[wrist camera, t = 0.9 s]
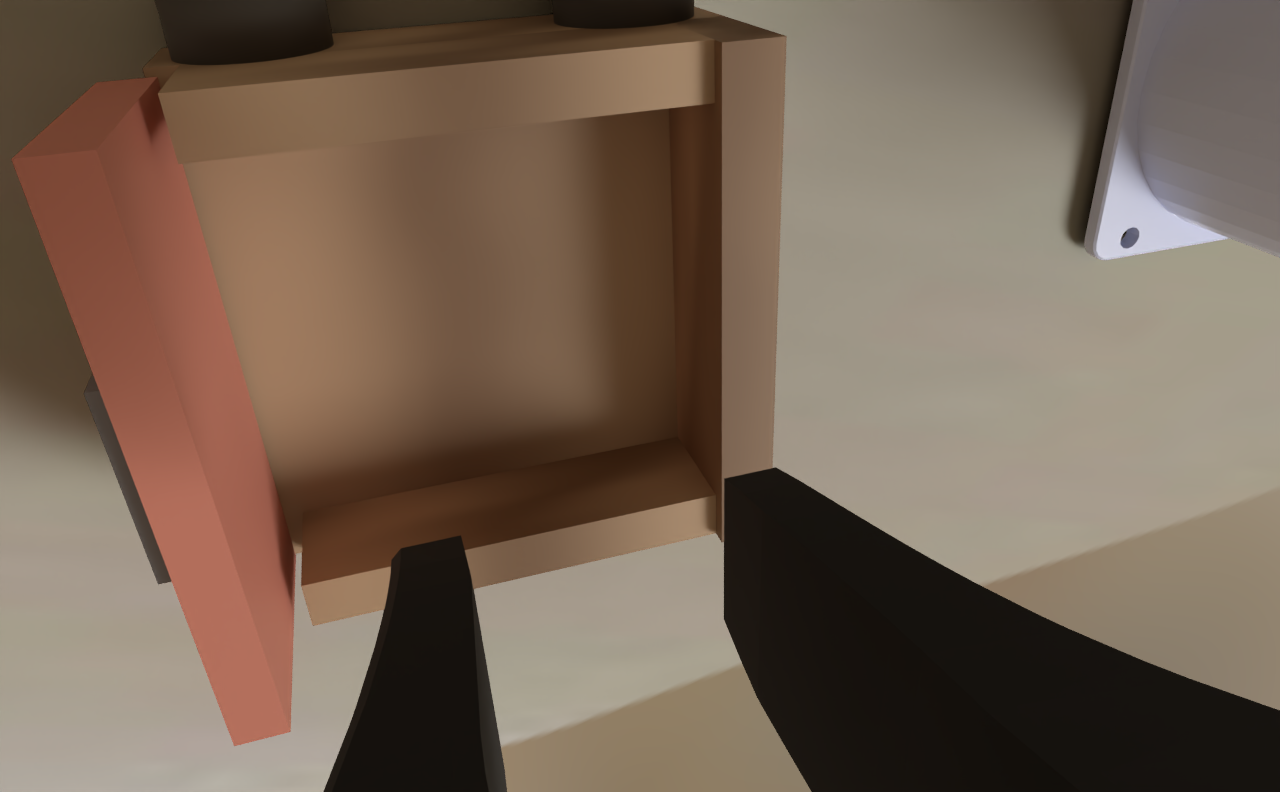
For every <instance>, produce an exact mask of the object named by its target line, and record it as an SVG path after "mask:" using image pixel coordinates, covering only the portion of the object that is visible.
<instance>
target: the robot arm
mask: <svg viewBox="0 0 1280 792" xmlns="http://www.w3.org/2000/svg"><path fill="white" fill-rule="evenodd" d="M1126 230H1127V233H1126V235H1125V237H1124V238H1123V239H1122V240H1121V237H1122V235H1123V233H1124V232H1125V231H1126ZM1224 239H1233V240H1235V241H1238V242H1241V243H1243V244H1246V245H1248V246H1251V247H1253V248H1256V249H1259V250H1261V251H1264V252H1266V253H1269V254H1272V255H1274V256H1277V257H1279V258H1280V0H1133V4H1132V9H1131V13H1130V18H1129V23H1128V28H1127V33H1126V38H1125V43H1124V48H1123V53H1122V58H1121V63H1120V68H1119V73H1118V77H1117V82H1116V87H1115V92H1114V97H1113V102H1112V107H1111V112H1110V117H1109V122H1108V127H1107V132H1106V137H1105V141H1104V146H1103V151H1102V156H1101V161H1100V166H1099V171H1098V176H1097V181H1096V186H1095V191H1094V196H1093V201H1092V205H1091V210H1090V215H1089V220H1088V225H1087V230H1086V235H1085V244H1084V247H1085V249H1086V251H1087V253H1089V254H1090V255H1092V256H1094V257H1096V258H1098V259H1100V260H1109V259H1115V258H1121V257H1127V256H1132V255H1138V254H1144V253H1149V252H1155V251H1161V250H1167V249H1172V248H1178V247H1184V246H1190V245H1195V244H1201V243H1207V242H1212V241H1218V240H1224ZM724 620H725V623H726V625H727V628H728V630H729V632H730V635H731V637H732V640H733V642H734V645H735V647H736V649H737V652H738V654H739V657H740V659H741V661H742V664H743V666H744V668H745V670H746V673H747V675H748V677H749V680H750V681H751V684H752V687H753V689H754V691H755V693H756V696H757V698H758V699H759V701H760V703H761V705H762V707H763V709H764V710H765V712H766V714H767V716H768V717H769V719H770V721H771V723H772V724H773V726H774V728H775V729H776V731H777V733H778V735H779V736H780V738H781V740H782V742H783V743H784V745H785V747H786V749H787V750H788V752H789V754H790V755H791V757H792V759H793V761H794V762H795V764H796V765H797V767H798V769H799V771H800V773H801V774H802V776H803V778H804V779H805V781H806V783H807V784H808V786H809V788H810V790H811V791H812V792H1280V710H1277V709H1273V708H1271V707H1268V706H1265V705H1262V704H1260V703H1256V702H1254V701H1251V700H1248V699H1245V698H1242V697H1240V696H1237V695H1234V694H1231V693H1228V692H1226V691H1223V690H1220V689H1217V688H1214V687H1211V686H1209V685H1206V684H1203V683H1200V682H1197V681H1194V680H1192V679H1189V678H1186V677H1184V676H1181V675H1179V674H1176V673H1173V672H1171V671H1168V670H1166V669H1163V668H1160V667H1158V666H1155V665H1153V664H1150V663H1147V662H1145V661H1142V660H1140V659H1138V658H1136V657H1133V656H1131V655H1128V654H1126V653H1124V652H1121V651H1119V650H1117V649H1114V648H1112V647H1109V646H1107V645H1105V644H1103V643H1100V642H1098V641H1096V640H1093V639H1091V638H1089V637H1086V636H1084V635H1082V634H1079V633H1077V632H1075V631H1072V630H1070V629H1068V628H1066V627H1064V626H1061V625H1059V624H1057V623H1055V622H1053V621H1050V620H1048V619H1046V618H1044V617H1042V616H1040V615H1038V614H1036V613H1034V612H1032V611H1030V610H1028V609H1026V608H1024V607H1022V606H1020V605H1018V604H1016V603H1014V602H1012V601H1010V600H1008V599H1006V598H1004V597H1002V596H1000V595H998V594H996V593H994V592H992V591H990V590H988V589H986V588H984V587H982V586H980V585H978V584H976V583H974V582H972V581H971V580H969V579H967V578H965V577H963V576H961V575H960V574H958V573H956V572H954V571H952V570H950V569H948V568H947V567H945V566H943V565H941V564H939V563H938V562H936V561H934V560H932V559H930V558H929V557H927V556H925V555H923V554H922V553H920V552H918V551H916V550H915V549H913V548H911V547H909V546H908V545H906V544H904V543H902V542H901V541H899V540H897V539H895V538H894V537H892V536H890V535H889V534H887V533H885V532H884V531H882V530H880V529H879V528H877V527H875V526H873V525H872V524H870V523H869V522H867V521H865V520H864V519H862V518H860V517H859V516H857V515H855V514H854V513H852V512H850V511H849V510H847V509H845V508H844V507H842V506H840V505H839V504H837V503H835V502H834V501H832V500H830V499H829V498H827V497H825V496H824V495H822V494H821V493H819V492H817V491H816V490H814V489H812V488H811V487H809V486H807V485H806V484H804V483H802V482H801V481H799V480H797V479H795V478H794V477H792V476H790V475H788V474H787V473H785V472H783V471H781V470H779V469H778V468H776V467H775V468H771V469H766V470H761V471H757V472H752V473H748V474H743V475H738V476H734V477H729V478H724ZM324 792H507V788H506V779H505V770H504V764H503V758H502V752H501V746H500V740H499V734H498V729H497V723H496V717H495V711H494V705H493V700H492V694H491V688H490V682H489V676H488V671H487V665H486V659H485V653H484V647H483V642H482V636H481V630H480V624H479V618H478V613H477V607H476V601H475V595H474V589H473V584H472V578H471V573H470V569H469V565H468V561H467V557H466V553H465V549H464V545H463V541H462V538H461V535H460V536H455V537H451V538H446V539H442V540H437V541H432V542H428V543H423V544H418V545H414V546H409V547H405V548H401V549H400V550H399V551H398V552H397V554H396V555H395V556H394V557H393V558H392V560H391V574H390V581H389V588H388V594H387V599H386V604H385V609H384V613H383V617H382V621H381V625H380V629H379V633H378V637H377V641H376V645H375V648H374V652H373V655H372V658H371V661H370V664H369V668H368V671H367V674H366V677H365V680H364V683H363V687H362V690H361V693H360V696H359V699H358V702H357V706H356V709H355V711H354V714H353V717H352V720H351V723H350V726H349V728H348V731H347V733H346V736H345V738H344V741H343V743H342V746H341V748H340V751H339V754H338V756H337V759H336V761H335V764H334V766H333V769H332V771H331V774H330V777H329V779H328V782H327V784H326V787H325V789H324Z"/></svg>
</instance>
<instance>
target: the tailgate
mask: <svg viewBox="0 0 1280 792" xmlns="http://www.w3.org/2000/svg"><path fill="white" fill-rule="evenodd" d="M160 90H161V88H160V84H159V81H158V77H149V78H138V79H127V80H117V81H106V82H96V83H95V84H94V85H93V86H92V87H91V88H90V89H89V90H88V91H86V92H85V93H84V94H83V95H82V96H81V97H80V98H79V99H78V100H76V101H75V102H74V103H73V104H72V105H71V106H70V107H69V108H68V109H66V110H65V111H64V112H63V113H62V114H61V115H60V116H59V117H57V118H56V119H55V120H54V121H53V122H52V123H51V124H50V125H49V126H47V127H46V128H45V129H44V130H43V131H42V132H41V133H40V134H39V135H37V136H36V137H35V138H34V139H33V140H32V141H31V142H30V143H29V144H27V145H26V146H25V147H24V148H23V149H22V150H21V151H20V152H19V153H17V154H16V155H15V156H14V157H13V158H12V159H11V160H12V162H13V165H14V168H15V170H16V173H17V175H18V178H19V181H20V183H21V186H22V189H23V191H24V194H25V197H26V199H27V202H28V204H29V207H30V210H31V212H32V215H33V218H34V220H35V223H36V225H37V228H38V231H39V233H40V236H41V239H42V241H43V244H44V247H45V249H46V252H47V254H48V257H49V260H50V262H51V265H52V268H53V270H54V273H55V275H56V278H57V281H58V283H59V286H60V289H61V291H62V294H63V297H64V299H65V302H66V304H67V307H68V310H69V312H70V315H71V318H72V320H73V323H74V325H75V328H76V331H77V333H78V336H79V339H80V341H81V344H82V346H83V349H84V352H85V354H86V357H87V360H88V362H89V365H90V368H91V370H92V373H93V374H92V376H91V378H90V380H89V382H88V385H87V387H86V389H85V391H84V395H85V398H86V400H87V403H88V406H89V408H90V411H91V413H92V416H93V418H94V421H95V424H96V426H97V429H98V431H99V434H100V436H101V439H102V441H103V444H104V447H105V449H106V452H107V454H108V457H109V459H110V462H111V465H112V467H113V470H114V472H115V475H116V477H117V480H118V482H119V485H120V488H121V490H122V493H123V495H124V498H125V500H126V503H127V506H128V508H129V511H130V513H131V516H132V518H133V521H134V523H135V526H136V529H137V531H138V534H139V536H140V539H141V541H142V544H143V547H144V549H145V552H146V554H147V557H148V559H149V562H150V564H151V567H152V570H153V572H154V575H155V577H156V580H157V582H158V584H162V583H167V582H171V581H172V583H173V586H174V589H175V591H176V594H177V596H178V599H179V602H180V604H181V607H182V610H183V612H184V615H185V617H186V620H187V623H188V625H189V628H190V631H191V633H192V636H193V638H194V641H195V644H196V646H197V649H198V652H199V654H200V657H201V660H202V662H203V665H204V667H205V670H206V673H207V675H208V678H209V681H210V683H211V686H212V688H213V691H214V694H215V696H216V699H217V702H218V704H219V707H220V710H221V712H222V715H223V717H224V720H225V723H226V725H227V728H228V731H229V733H230V736H231V738H232V741H233V744H234V746H237V745H241V744H244V743H248V742H252V741H256V740H260V739H264V738H268V737H272V736H276V735H280V734H284V733H288V732H290V728H291V695H292V662H293V630H294V597H295V564H296V555H295V551H294V548H293V544H292V541H291V537H290V534H289V530H288V527H287V523H286V520H285V517H284V513H283V510H282V506H281V503H280V499H279V496H278V492H277V489H276V485H275V482H274V479H273V475H272V472H271V468H270V465H269V461H268V458H267V454H266V451H265V447H264V444H263V440H262V437H261V434H260V430H259V427H258V423H257V420H256V416H255V413H254V409H253V406H252V402H251V399H250V396H249V392H248V389H247V385H246V382H245V378H244V375H243V371H242V368H241V364H240V361H239V357H238V354H237V351H236V347H235V344H234V340H233V337H232V333H231V330H230V326H229V323H228V319H227V316H226V313H225V309H224V306H223V302H222V299H221V295H220V292H219V288H218V285H217V281H216V278H215V275H214V271H213V268H212V264H211V261H210V257H209V254H208V250H207V247H206V243H205V240H204V236H203V233H202V230H201V226H200V223H199V219H198V216H197V212H196V209H195V205H194V202H193V198H192V195H191V192H190V188H189V185H188V181H187V178H186V174H185V171H184V167H183V164H178V161H177V158H176V154H175V151H174V148H173V144H172V141H171V137H170V134H169V130H168V127H167V124H166V120H165V117H164V113H163V110H162V106H161V103H160V99H159V96H158V93H159V91H160Z"/></svg>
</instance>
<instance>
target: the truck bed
mask: <svg viewBox="0 0 1280 792" xmlns="http://www.w3.org/2000/svg"><path fill="white" fill-rule="evenodd" d="M155 3H156V7H157V11H158V14H159V18H160V21H161V25H162V29H163V32H164V36H165V39H166V43H167V46H168V48H161V49H160V50H159V51H158V53H157V54H156V55H155V56H154V57H153V58H152V59H151V60H150V61H149V62H148V63H147V64H146V65H145V66H144V67H143V68H142V69H143V72H144V76H145V78H149V77H158V81H159V84H160V88H161V90H160V91H159V93H158V96H159V99H160V103H161V106H162V110H163V113H164V117H165V120H166V124H167V127H168V130H169V134H170V137H171V141H172V144H173V148H174V151H175V154H176V158H177V161H178V164H183V167H184V171H185V174H186V178H187V181H188V185H189V188H190V192H191V195H192V198H193V202H194V205H195V209H196V212H197V216H198V219H199V223H200V226H201V230H202V233H203V236H204V240H205V243H206V247H207V250H208V254H209V257H210V261H211V264H212V268H213V271H214V275H215V278H216V281H217V285H218V288H219V292H220V295H221V299H222V302H223V306H224V309H225V313H226V316H227V319H228V323H229V326H230V330H231V333H232V337H233V340H234V344H235V347H236V351H237V354H238V357H239V361H240V364H241V368H242V371H243V375H244V378H245V382H246V385H247V389H248V392H249V396H250V399H251V402H252V406H253V409H254V413H255V416H256V420H257V423H258V427H259V430H260V434H261V437H262V440H263V444H264V447H265V451H266V454H267V458H268V461H269V465H270V468H271V472H272V475H273V479H274V482H275V485H276V489H277V492H278V496H279V499H280V503H281V506H282V510H283V513H284V517H285V520H286V523H287V527H288V530H289V534H290V537H291V541H292V544H293V548H294V551H295V554H296V553H301V552H302V578H301V587H302V590H303V594H304V597H305V600H306V604H307V607H308V611H309V614H310V618H311V621H312V624H313V626H314V625H318V624H323V623H327V622H331V621H336V620H340V619H345V618H349V617H353V616H358V615H362V614H366V613H371V612H375V611H379V610H384V609H385V604H386V599H387V594H388V588H389V581H390V574H391V560H392V558H393V557H394V556H395V555H396V554H397V552H398V551H399V550H400V549H401V548H405V547H409V546H414V545H418V544H423V543H428V542H432V541H437V540H442V539H446V538H451V537H455V536H460V535H461V538H462V541H463V545H464V549H465V553H466V557H467V561H468V565H469V569H470V573H471V578H472V584H473V589H475V588H479V587H484V586H488V585H492V584H497V583H501V582H505V581H510V580H514V579H519V578H523V577H527V576H532V575H536V574H540V573H545V572H549V571H553V570H558V569H562V568H566V567H571V566H575V565H579V564H584V563H588V562H592V561H597V560H601V559H605V558H610V557H614V556H619V555H623V554H627V553H632V552H636V551H640V550H645V549H649V548H653V547H658V546H662V545H666V544H671V543H675V542H679V541H684V540H688V539H692V538H697V537H701V536H706V535H710V534H714V533H716V534H717V535H718V537H719V538H720V540H721V542H724V478H729V477H734V476H738V475H743V474H748V473H752V472H757V471H761V470H766V469H771V468H772V464H773V433H774V403H775V372H776V342H777V311H778V281H779V250H780V219H781V189H782V158H783V128H784V97H785V67H786V36H784V35H781V34H778V33H775V32H772V31H769V30H765V29H762V28H759V27H756V26H753V25H750V24H747V23H744V22H741V21H737V20H734V19H731V18H728V17H725V16H722V15H719V14H716V13H713V12H710V11H706V10H703V9H700V8H697V7H694V0H552V6H553V14H552V15H540V16H529V17H517V18H506V19H494V20H482V21H471V22H459V23H448V24H436V25H424V26H413V27H401V28H390V29H378V30H367V31H355V32H343V33H332V31H331V26H330V21H329V15H328V10H327V5H326V0H155Z"/></svg>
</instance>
